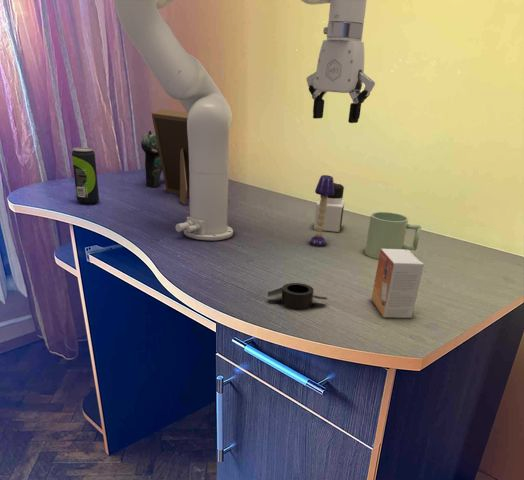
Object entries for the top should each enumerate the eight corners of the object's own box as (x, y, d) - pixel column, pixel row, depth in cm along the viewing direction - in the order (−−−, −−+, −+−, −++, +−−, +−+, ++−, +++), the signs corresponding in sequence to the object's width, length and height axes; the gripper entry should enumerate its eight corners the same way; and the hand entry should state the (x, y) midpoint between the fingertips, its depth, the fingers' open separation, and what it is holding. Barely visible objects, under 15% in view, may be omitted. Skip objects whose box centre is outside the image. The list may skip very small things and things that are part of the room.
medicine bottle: (339, 232, 141) (345, 187, 135) (313, 229, 142) (318, 184, 136) (341, 226, 147) (347, 182, 141) (316, 223, 148) (321, 180, 142)
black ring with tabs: (285, 290, 102) (286, 276, 101) (329, 304, 97) (331, 290, 96) (263, 301, 97) (264, 287, 95) (308, 317, 92) (310, 302, 90)
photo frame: (174, 189, 175) (172, 108, 163) (226, 200, 166) (228, 115, 154) (144, 196, 164) (139, 110, 152) (197, 208, 154) (197, 117, 142)
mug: (365, 257, 123) (371, 219, 119) (364, 247, 131) (370, 210, 126) (416, 263, 122) (424, 224, 117) (413, 252, 129) (420, 215, 125)
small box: (370, 300, 100) (379, 247, 95) (398, 300, 101) (409, 248, 96) (382, 318, 93) (393, 262, 88) (412, 318, 94) (424, 263, 89)
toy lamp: (330, 243, 131) (338, 175, 123) (324, 248, 127) (332, 178, 119) (312, 240, 133) (319, 173, 125) (306, 245, 129) (313, 176, 121)
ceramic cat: (152, 188, 174) (149, 124, 164) (138, 185, 177) (135, 122, 167) (190, 181, 189) (190, 121, 179) (177, 178, 192) (176, 119, 182)
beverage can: (102, 204, 153) (97, 150, 145) (81, 205, 149) (75, 151, 142) (95, 199, 157) (90, 147, 150) (74, 201, 154) (68, 147, 146)
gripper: (302, 31, 113) (295, 117, 121) (371, 32, 103) (359, 125, 112) (321, 34, 118) (313, 116, 126) (389, 35, 109) (376, 123, 117)
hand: (335, 120), depth 119 cm, fingers open, 9 cm apart
